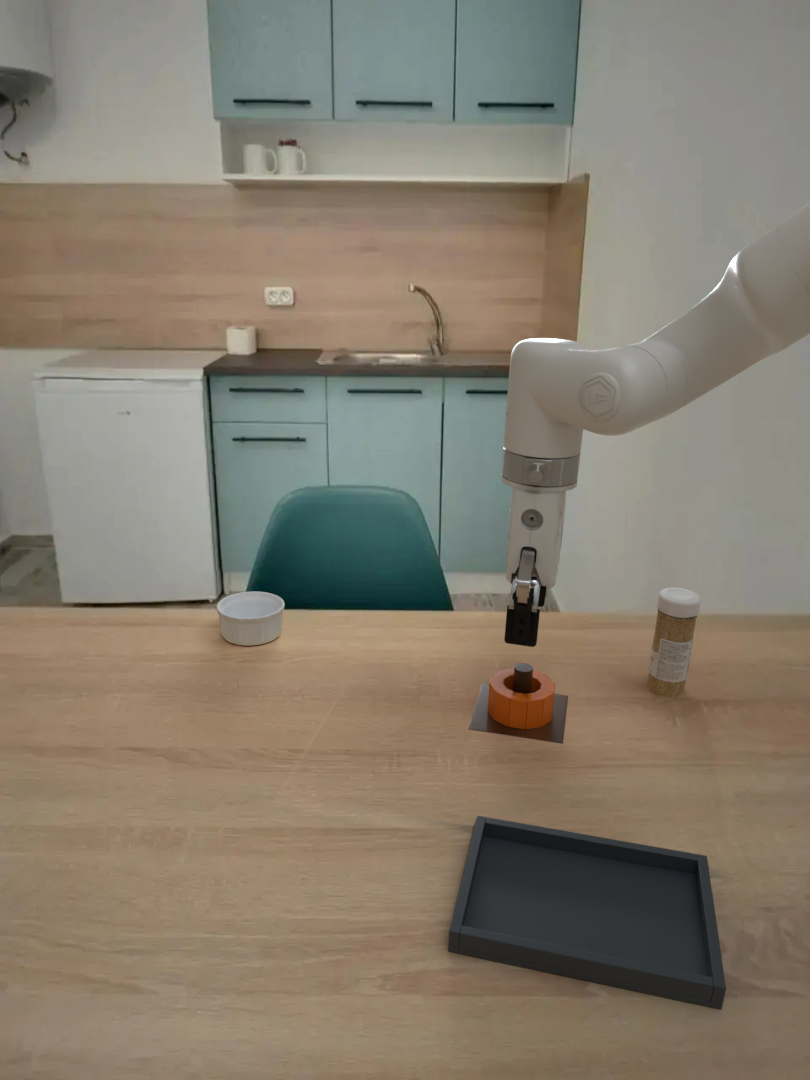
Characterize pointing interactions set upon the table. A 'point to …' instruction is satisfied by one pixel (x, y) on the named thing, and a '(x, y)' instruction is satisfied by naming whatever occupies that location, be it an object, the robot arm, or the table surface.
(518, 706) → the orange octagonal ring
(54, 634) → the table surface
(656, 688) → the sprinkles bottle
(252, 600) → the ramekin
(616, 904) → the tray
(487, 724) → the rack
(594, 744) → the table surface
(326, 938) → the table surface
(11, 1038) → the table surface
